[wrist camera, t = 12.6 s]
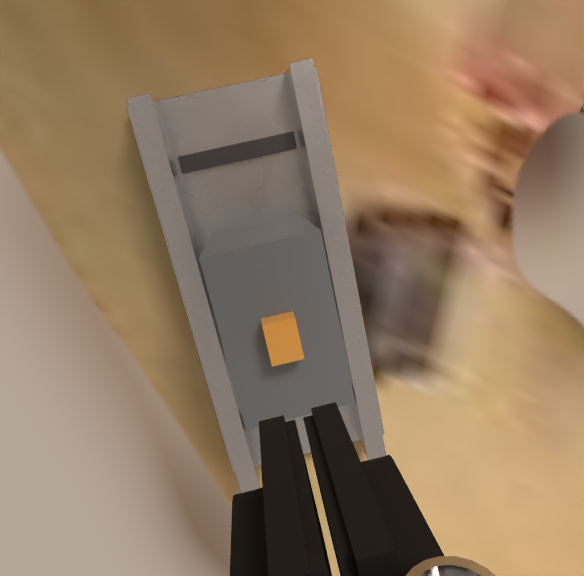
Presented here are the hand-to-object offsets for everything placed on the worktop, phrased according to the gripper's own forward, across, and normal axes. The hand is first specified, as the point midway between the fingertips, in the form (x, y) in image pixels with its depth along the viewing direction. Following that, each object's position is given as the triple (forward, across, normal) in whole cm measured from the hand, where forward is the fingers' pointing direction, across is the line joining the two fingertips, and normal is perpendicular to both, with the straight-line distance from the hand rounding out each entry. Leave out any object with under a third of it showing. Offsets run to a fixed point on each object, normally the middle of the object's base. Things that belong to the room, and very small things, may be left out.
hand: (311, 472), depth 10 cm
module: (+15, 0, 0) cm, 15 cm away
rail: (+16, 0, 0) cm, 16 cm away
